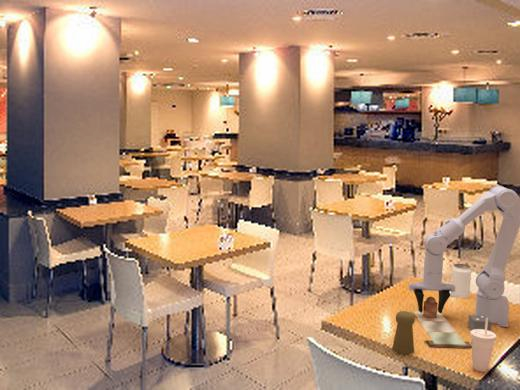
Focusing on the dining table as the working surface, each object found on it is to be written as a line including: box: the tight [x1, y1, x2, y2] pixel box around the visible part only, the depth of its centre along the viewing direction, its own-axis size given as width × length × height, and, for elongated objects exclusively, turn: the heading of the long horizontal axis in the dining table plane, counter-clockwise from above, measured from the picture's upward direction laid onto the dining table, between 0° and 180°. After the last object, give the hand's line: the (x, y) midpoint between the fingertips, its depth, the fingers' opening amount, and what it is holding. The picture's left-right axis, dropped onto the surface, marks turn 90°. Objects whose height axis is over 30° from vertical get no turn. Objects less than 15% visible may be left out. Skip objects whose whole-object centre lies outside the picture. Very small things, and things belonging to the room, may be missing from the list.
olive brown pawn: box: [392, 310, 416, 355], centre depth 155 cm, size 6×6×11 cm
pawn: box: [423, 296, 438, 318], centre depth 180 cm, size 4×4×6 cm
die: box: [467, 314, 492, 332], centre depth 168 cm, size 5×5×5 cm
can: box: [450, 263, 472, 299], centre depth 201 cm, size 6×6×12 cm
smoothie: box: [469, 318, 497, 373], centre depth 144 cm, size 6×6×14 cm
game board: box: [413, 310, 472, 350], centre depth 171 cm, size 12×27×1 cm, turn 178°
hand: (430, 311), depth 180 cm, fingers open, 6 cm apart
